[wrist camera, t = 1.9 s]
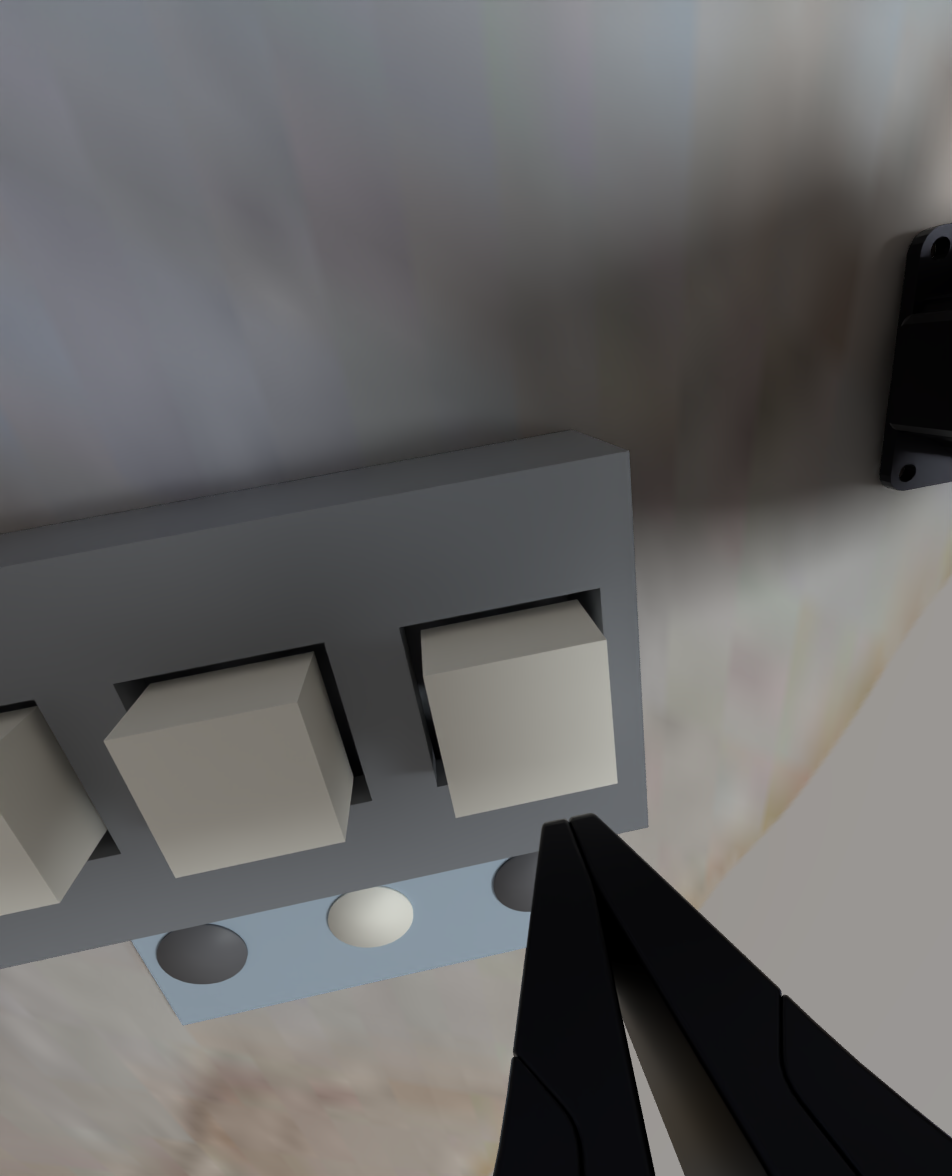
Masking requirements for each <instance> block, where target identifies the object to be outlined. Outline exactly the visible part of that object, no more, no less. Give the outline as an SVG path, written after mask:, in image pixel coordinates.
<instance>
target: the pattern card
mask: <svg viewBox="0 0 952 1176" xmlns="http://www.w3.org/2000/svg"><path fill="white" fill-rule="evenodd" d="M537 859H538V851H537V852H533V853H528V854H523V855H519V856H514V857H510V858H505V859H501V860H496V861H491V862H487V863H482V864H478V865H473V866H469V867H464V868H459V869H455V870H450V871H446V872H441V873H437V874H432V875H427V876H423V877H418V878H414V879H409V880H405V881H400V882H395V883H391V884H386V885H382V886H377V887H373V888H368V889H363V890H359V891H354V892H350V893H345V894H341V895H336V896H331V897H327V898H322V899H318V900H313V901H309V902H304V903H299V904H295V905H290V906H286V907H281V908H277V909H272V910H267V911H263V912H258V913H254V914H249V915H245V916H240V917H235V918H231V919H226V920H222V921H217V922H213V923H208V924H203V925H199V926H194V927H190V928H185V929H181V930H176V931H171V932H167V933H162V934H158V935H153V936H149V937H144V938H139V939H135V940H131V941H132V943H133V945H134V946H135V948H136V949H137V951H138V953H139V954H140V956H141V958H142V959H143V961H144V963H145V964H146V966H147V968H148V969H149V971H150V972H151V974H152V976H153V977H154V979H155V981H156V982H157V984H158V986H159V987H160V989H161V991H162V992H163V994H164V995H165V997H166V999H167V1000H168V1002H169V1004H170V1005H171V1007H172V1009H173V1010H174V1012H175V1014H176V1015H177V1017H178V1018H179V1020H180V1022H181V1023H182V1025H187V1024H191V1023H196V1022H200V1021H205V1020H209V1019H214V1018H218V1017H222V1016H227V1015H231V1014H236V1013H240V1012H244V1011H249V1010H253V1009H258V1008H262V1007H266V1006H271V1005H275V1004H280V1003H284V1002H288V1001H293V1000H297V999H302V998H306V997H311V996H315V995H319V994H324V993H328V992H333V991H337V990H341V989H346V988H350V987H355V986H359V985H363V984H368V983H372V982H377V981H381V980H385V979H390V978H394V977H399V976H403V975H408V974H412V973H416V972H421V971H425V970H430V969H434V968H438V967H443V966H447V965H452V964H456V963H460V962H465V961H469V960H474V959H478V958H482V957H487V956H491V955H496V954H500V953H505V952H509V951H513V950H518V949H522V948H526V945H527V937H528V929H529V922H530V914H531V906H532V898H533V890H534V882H535V874H536V867H537Z"/></svg>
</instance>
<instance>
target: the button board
mask: <svg viewBox="0 0 952 1176" xmlns="http://www.w3.org/2000/svg"><path fill="white" fill-rule="evenodd" d="M576 599H577V600H578V601H579V603H580V604H581V605H582V607H583V608H584V609H585V611H586V612H587V613H588V615H589V616H590V618H591V619H592V620H593V622H594V623H595V624H596V626H597V627H598V628H599V630H600V631H601V633H602V634H603V635H604V637H605V638H606V639H607V651H608V664H609V677H610V690H611V703H612V716H613V729H614V742H615V755H616V768H617V781H618V783H617V784H613V785H608V786H603V787H599V788H594V789H589V790H585V791H580V792H575V793H571V794H566V795H561V796H557V797H552V798H547V799H543V800H538V801H533V802H529V803H524V804H519V805H515V806H510V807H505V808H501V809H496V810H491V811H487V812H482V813H477V814H473V815H468V816H463V817H459V818H456V817H455V813H454V808H453V804H452V800H451V795H450V791H449V787H448V782H447V778H446V774H445V770H444V765H443V761H442V757H441V752H440V748H439V744H438V739H437V735H436V731H435V726H434V722H433V718H432V713H431V709H430V705H429V701H428V696H427V692H426V688H425V683H424V679H423V668H422V648H421V630H424V629H429V628H434V627H439V626H444V625H449V624H454V623H459V622H464V621H469V620H474V619H479V618H484V617H489V616H495V615H500V614H505V613H510V612H515V611H520V610H525V609H530V608H535V607H540V606H545V605H550V604H555V603H560V602H565V601H570V600H576ZM312 651H314V653H315V656H316V659H317V663H318V666H319V669H320V672H321V675H322V678H323V682H324V685H325V688H326V691H327V694H328V697H329V701H330V704H331V707H332V710H333V713H334V716H335V720H336V723H337V726H338V729H339V732H340V735H341V739H342V742H343V745H344V748H345V751H346V754H347V758H348V761H349V764H350V767H351V770H352V773H353V777H354V779H353V786H352V794H351V802H350V809H349V817H348V825H347V832H346V840H345V842H342V843H337V844H333V845H328V846H323V847H319V848H314V849H309V850H305V851H300V852H295V853H291V854H286V855H281V856H277V857H272V858H267V859H263V860H258V861H253V862H249V863H244V864H239V865H235V866H230V867H225V868H221V869H216V870H211V871H207V872H202V873H197V874H193V875H188V876H183V877H179V878H175V876H174V874H173V872H172V871H171V869H170V867H169V865H168V863H167V861H166V859H165V857H164V855H163V853H162V852H161V850H160V848H159V846H158V844H157V842H156V840H155V838H154V836H153V834H152V833H151V831H150V829H149V827H148V825H147V823H146V821H145V819H144V817H143V815H142V814H141V812H140V810H139V808H138V806H137V804H136V802H135V800H134V798H133V796H132V795H131V793H130V791H129V789H128V787H127V785H126V783H125V781H124V779H123V777H122V775H121V774H120V772H119V770H118V768H117V766H116V764H115V762H114V760H113V758H112V756H111V755H110V753H109V751H108V749H107V747H106V745H105V743H104V740H105V738H106V737H107V736H108V735H109V734H110V732H111V731H112V730H113V729H114V727H115V726H116V725H117V724H118V722H119V721H120V720H121V719H122V718H123V716H124V715H125V714H126V713H127V711H128V710H129V709H130V708H131V706H132V705H133V704H134V703H135V702H136V700H137V699H138V698H139V697H140V695H141V694H142V693H143V692H144V690H145V689H146V688H147V687H148V686H149V684H150V683H155V682H161V681H166V680H171V679H176V678H181V677H186V676H191V675H196V674H201V673H206V672H211V671H216V670H221V669H226V668H231V667H236V666H242V665H247V664H252V663H257V662H262V661H267V660H272V659H277V658H282V657H287V656H292V655H297V654H302V653H307V652H312ZM34 706H38V707H39V709H40V711H41V713H42V714H43V716H44V718H45V720H46V721H47V723H48V725H49V727H50V729H51V730H52V732H53V734H54V736H55V737H56V739H57V741H58V743H59V744H60V746H61V748H62V750H63V751H64V753H65V755H66V757H67V759H68V760H69V762H70V764H71V766H72V767H73V769H74V771H75V773H76V774H77V776H78V778H79V780H80V781H81V783H82V785H83V787H84V789H85V790H86V792H87V794H88V796H89V797H90V799H91V801H92V803H93V804H94V806H95V808H96V810H97V812H98V813H99V815H100V817H101V819H102V820H103V822H104V824H105V826H106V827H107V831H106V832H105V834H104V835H103V837H102V838H101V840H100V842H99V843H98V845H97V846H96V848H95V849H94V851H93V852H92V854H91V855H90V857H89V859H88V860H87V862H86V863H85V865H84V866H83V868H82V869H81V871H80V872H79V874H78V875H77V877H76V879H75V880H74V882H73V883H72V885H71V886H70V888H69V889H68V891H67V892H66V894H65V895H64V897H63V899H62V900H61V902H60V903H57V904H53V905H48V906H43V907H39V908H34V909H29V910H25V911H20V912H15V913H11V914H6V915H1V916H0V969H2V968H7V967H11V966H16V965H21V964H25V963H30V962H34V961H39V960H43V959H48V958H53V957H57V956H62V955H66V954H71V953H75V952H80V951H85V950H89V949H94V948H98V947H103V946H107V945H112V944H117V943H121V942H126V941H130V940H135V939H139V938H144V937H149V936H153V935H158V934H162V933H167V932H171V931H176V930H181V929H185V928H190V927H194V926H199V925H203V924H208V923H213V922H217V921H222V920H226V919H231V918H235V917H240V916H245V915H249V914H254V913H258V912H263V911H267V910H272V909H277V908H281V907H286V906H290V905H295V904H299V903H304V902H309V901H313V900H318V899H322V898H327V897H331V896H336V895H341V894H345V893H350V892H354V891H359V890H363V889H368V888H373V887H377V886H382V885H386V884H391V883H395V882H400V881H405V880H409V879H414V878H418V877H423V876H427V875H432V874H437V873H441V872H446V871H450V870H455V869H459V868H464V867H469V866H473V865H478V864H482V863H487V862H491V861H496V860H501V859H505V858H510V857H514V856H519V855H523V854H528V853H533V852H537V851H539V843H540V835H541V828H542V825H543V824H544V823H545V822H549V821H553V820H558V819H567V820H568V822H569V819H570V818H571V817H572V816H577V815H582V814H586V813H593V814H595V815H597V816H598V817H599V818H600V819H601V820H602V821H603V822H604V823H605V824H606V825H607V826H609V827H610V828H611V829H612V830H613V831H614V832H615V833H616V834H619V833H624V832H629V831H633V830H638V829H642V828H647V827H648V809H647V789H646V770H645V750H644V730H643V711H642V691H641V671H640V651H639V632H638V612H637V592H636V573H635V553H634V533H633V513H632V494H631V474H630V454H629V451H628V450H626V449H623V448H620V447H618V446H615V445H612V444H610V443H607V442H604V441H602V440H599V439H596V438H594V437H591V436H588V435H586V434H583V433H580V432H578V431H575V430H568V431H562V432H557V433H551V434H546V435H540V436H535V437H530V438H524V439H519V440H513V441H508V442H502V443H497V444H491V445H486V446H480V447H475V448H469V449H464V450H458V451H453V452H447V453H442V454H437V455H431V456H426V457H420V458H415V459H409V460H404V461H398V462H393V463H387V464H382V465H376V466H371V467H365V468H360V469H354V470H349V471H344V472H338V473H333V474H327V475H322V476H316V477H311V478H305V479H300V480H294V481H289V482H283V483H278V484H272V485H267V486H261V487H256V488H251V489H245V490H240V491H234V492H229V493H223V494H218V495H212V496H207V497H201V498H196V499H190V500H185V501H179V502H174V503H169V504H163V505H158V506H152V507H147V508H141V509H136V510H130V511H125V512H119V513H114V514H108V515H103V516H97V517H92V518H86V519H81V520H76V521H70V522H65V523H59V524H54V525H48V526H43V527H37V528H32V529H26V530H21V531H15V532H10V533H4V534H0V713H4V712H9V711H14V710H19V709H24V708H29V707H34Z"/></svg>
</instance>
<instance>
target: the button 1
mask: <svg viewBox="0 0 952 1176" xmlns="http://www.w3.org/2000/svg"><path fill="white" fill-rule="evenodd" d="M106 831H107V827H106V826H105V824H104V822H103V820H102V819H101V817H100V815H99V813H98V812H97V810H96V808H95V806H94V804H93V803H92V801H91V799H90V797H89V796H88V794H87V792H86V790H85V789H84V787H83V785H82V783H81V781H80V780H79V778H78V776H77V774H76V773H75V771H74V769H73V767H72V766H71V764H70V762H69V760H68V759H67V757H66V755H65V753H64V751H63V750H62V748H61V746H60V744H59V743H58V741H57V739H56V737H55V736H54V734H53V732H52V730H51V729H50V727H49V725H48V723H47V721H46V720H45V718H44V716H43V714H42V713H41V711H40V709H39V707H38V706H34V707H29V708H24V709H19V710H14V711H9V712H4V713H0V916H1V915H6V914H11V913H15V912H20V911H25V910H29V909H34V908H39V907H43V906H48V905H53V904H57V903H60V902H61V900H62V899H63V897H64V895H65V894H66V892H67V891H68V889H69V888H70V886H71V885H72V883H73V882H74V880H75V879H76V877H77V875H78V874H79V872H80V871H81V869H82V868H83V866H84V865H85V863H86V862H87V860H88V859H89V857H90V855H91V854H92V852H93V851H94V849H95V848H96V846H97V845H98V843H99V842H100V840H101V838H102V837H103V835H104V834H105V832H106Z"/></svg>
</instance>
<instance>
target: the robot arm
mask: <svg viewBox="0 0 952 1176" xmlns="http://www.w3.org/2000/svg"><path fill="white" fill-rule="evenodd" d="M933 243H935V246H936V251H935V254H934V256H933V258H932V257H931V253H930V250H931V247H932V244H933ZM903 467H904V471H903V474H902V475H901V476H900V477H899V473H900V470H901V469H902V468H903ZM879 476H880V481H881V483H882V485H884V486H885V487H887V488H891V489H895V490H901V491H905V490H910V489H916V488H921V487H926V486H931V485H936V484H941V483H947V482H952V223H950V224H944V225H940V226H937V227H933V228H929V229H927V230H924V231H922V232H921V233H919V234H918V235H917V236H916V237H915V238H914V240H913V241H912V243H911V245H910V246H909V250H908V254H907V260H906V267H905V275H904V283H903V291H902V299H901V307H900V315H899V323H898V331H897V339H896V346H895V354H894V362H893V370H892V378H891V386H890V394H889V402H888V410H887V418H886V426H885V433H884V441H883V449H882V457H881V465H880V473H879ZM622 1018H623V1019H622ZM623 1021H624V1023H625V1026H626V1028H627V1031H628V1033H629V1036H630V1038H631V1041H632V1043H633V1046H634V1049H635V1051H636V1053H637V1056H638V1059H639V1061H640V1064H641V1066H642V1069H643V1071H644V1073H645V1076H646V1078H647V1081H648V1084H649V1086H650V1089H651V1091H652V1094H653V1096H654V1099H655V1101H656V1104H657V1106H658V1109H659V1111H660V1114H661V1117H662V1119H663V1122H664V1124H665V1127H666V1129H667V1131H668V1134H669V1137H670V1139H671V1142H672V1144H673V1147H674V1149H675V1152H676V1154H677V1157H678V1160H679V1162H680V1165H681V1167H682V1169H683V1172H684V1175H685V1176H952V1138H951V1137H950V1136H949V1135H948V1134H946V1133H945V1132H944V1131H943V1130H941V1129H940V1128H939V1127H937V1126H936V1125H935V1124H934V1123H933V1122H931V1121H930V1120H929V1119H928V1118H926V1117H925V1116H924V1115H923V1114H922V1113H920V1112H919V1111H918V1110H917V1109H915V1108H914V1107H913V1106H912V1105H910V1104H909V1103H908V1102H907V1101H906V1100H905V1099H903V1098H902V1097H901V1096H900V1095H899V1094H897V1093H896V1092H895V1091H894V1090H893V1089H891V1088H890V1087H889V1086H888V1085H886V1084H885V1083H884V1082H883V1081H882V1080H881V1079H879V1078H878V1077H877V1076H876V1075H875V1074H873V1073H872V1072H871V1071H870V1070H869V1069H867V1068H866V1067H865V1066H864V1065H863V1064H861V1063H860V1062H859V1061H858V1060H857V1059H856V1058H855V1057H854V1056H852V1055H851V1054H850V1053H849V1052H848V1051H847V1050H846V1049H844V1048H843V1047H842V1046H841V1045H840V1044H839V1043H838V1042H837V1041H836V1040H835V1039H834V1038H832V1037H831V1036H830V1035H829V1034H828V1033H827V1032H826V1031H825V1030H824V1029H822V1028H821V1027H820V1026H819V1025H818V1024H817V1023H816V1022H815V1021H814V1020H813V1019H811V1018H810V1016H809V1015H807V1014H806V1013H805V1012H804V1011H803V1010H802V1009H801V1008H800V1007H799V1006H798V1005H797V1004H796V1003H795V1002H794V1001H793V1000H792V999H791V998H790V997H789V996H787V995H783V996H782V993H781V990H780V988H779V987H778V986H777V985H776V984H774V983H773V982H772V981H771V980H770V979H769V978H768V977H767V976H766V975H765V974H764V973H763V972H762V971H761V970H760V969H759V968H758V967H756V966H755V965H754V964H753V963H752V962H751V961H750V960H749V959H748V958H747V957H746V956H745V955H744V954H742V952H740V951H739V949H737V948H736V947H735V946H734V945H733V944H732V943H731V942H730V941H729V940H728V939H727V938H726V937H725V936H724V935H723V934H722V933H720V932H719V931H718V930H717V929H716V928H715V927H714V926H713V925H712V924H711V923H710V922H709V921H708V920H707V919H706V918H705V917H704V916H703V915H702V914H700V913H699V912H698V911H697V910H696V909H695V908H694V907H693V906H692V905H691V904H690V903H689V902H688V901H687V900H686V899H685V898H684V897H683V896H681V895H680V894H679V893H678V892H677V891H676V890H675V889H674V888H673V887H672V886H671V885H670V884H669V883H668V882H667V881H666V880H665V879H663V878H662V877H661V876H660V875H659V874H658V873H657V872H656V871H655V870H654V869H653V868H652V867H651V866H650V865H649V864H648V863H647V862H646V861H644V860H643V859H642V858H641V857H640V856H639V855H638V854H637V853H636V852H635V851H634V850H633V849H632V848H631V847H630V846H629V845H628V844H626V843H625V842H624V841H623V840H622V839H621V838H620V837H619V836H618V835H617V834H616V833H615V832H614V831H613V830H612V829H611V828H610V827H609V826H607V825H606V824H605V823H604V822H603V821H602V820H601V819H600V818H599V817H598V816H597V815H595V814H593V813H586V814H582V815H577V816H572V817H571V818H570V819H569V822H568V820H567V819H558V820H553V821H549V822H545V823H544V824H543V825H542V828H541V835H540V843H539V851H538V859H537V867H536V874H535V882H534V890H533V898H532V906H531V914H530V922H529V929H528V937H527V945H526V953H525V961H524V969H523V977H522V984H521V992H520V1000H519V1008H518V1016H517V1024H516V1032H515V1039H514V1047H513V1054H514V1057H513V1058H512V1060H511V1068H510V1076H509V1083H508V1091H507V1098H506V1104H505V1111H504V1117H503V1123H502V1130H501V1136H500V1143H499V1149H498V1154H497V1158H496V1163H495V1168H494V1173H493V1176H655V1172H654V1167H653V1162H652V1157H651V1152H650V1148H649V1143H648V1138H647V1133H646V1129H645V1124H644V1119H643V1114H642V1109H641V1105H640V1100H639V1096H638V1090H637V1086H636V1081H635V1076H634V1071H633V1067H632V1062H631V1057H630V1053H629V1048H628V1043H627V1038H626V1033H625V1028H624V1024H623Z"/></svg>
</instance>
